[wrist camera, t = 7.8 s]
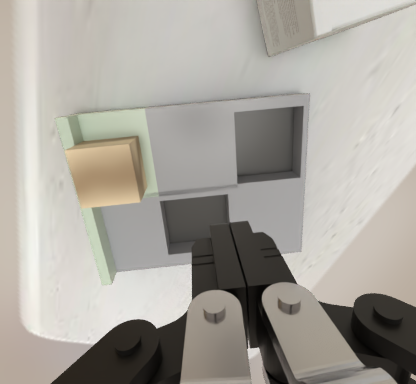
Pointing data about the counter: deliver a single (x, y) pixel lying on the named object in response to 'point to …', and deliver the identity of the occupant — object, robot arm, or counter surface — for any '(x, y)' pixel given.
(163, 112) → the grey slotted tray
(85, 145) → the block
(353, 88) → the counter surface
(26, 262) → the counter surface
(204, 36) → the counter surface
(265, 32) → the small box
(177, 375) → the robot arm
